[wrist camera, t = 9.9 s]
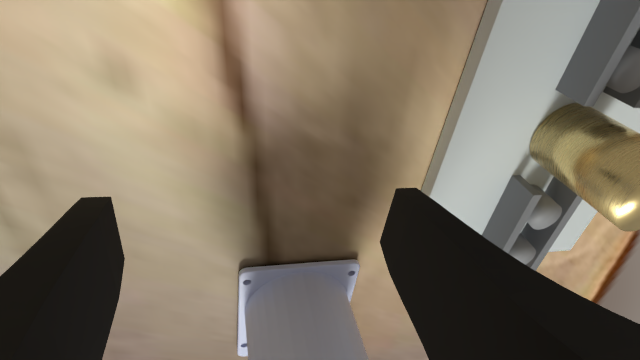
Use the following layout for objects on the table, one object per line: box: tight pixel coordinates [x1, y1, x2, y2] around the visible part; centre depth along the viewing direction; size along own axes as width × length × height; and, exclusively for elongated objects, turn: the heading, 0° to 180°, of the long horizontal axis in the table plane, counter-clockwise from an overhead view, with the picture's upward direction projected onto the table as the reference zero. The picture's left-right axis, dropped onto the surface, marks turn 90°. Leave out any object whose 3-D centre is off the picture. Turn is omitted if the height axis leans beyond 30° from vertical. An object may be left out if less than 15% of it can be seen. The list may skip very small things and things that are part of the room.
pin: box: [530, 103, 640, 231], centre depth 20 cm, size 4×4×6 cm
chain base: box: [421, 0, 640, 271], centre depth 22 cm, size 20×14×3 cm
